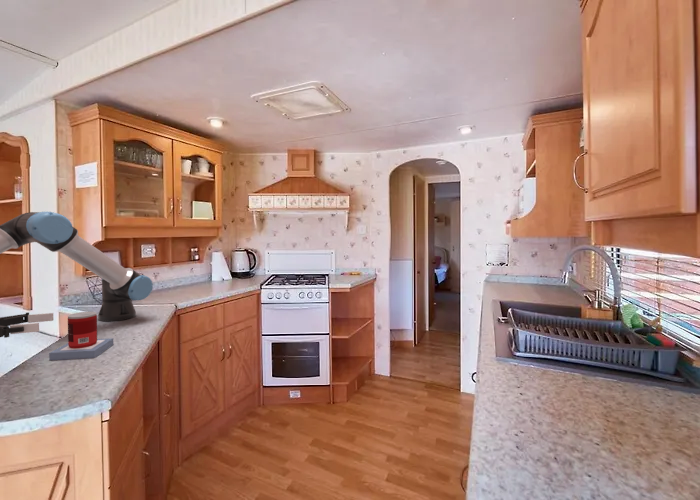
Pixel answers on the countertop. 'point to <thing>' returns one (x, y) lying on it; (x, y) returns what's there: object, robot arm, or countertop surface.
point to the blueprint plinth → (81, 350)
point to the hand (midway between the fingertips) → (46, 321)
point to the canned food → (82, 329)
